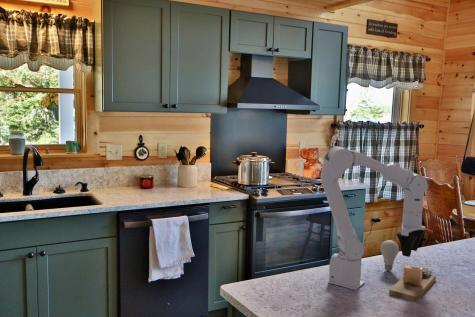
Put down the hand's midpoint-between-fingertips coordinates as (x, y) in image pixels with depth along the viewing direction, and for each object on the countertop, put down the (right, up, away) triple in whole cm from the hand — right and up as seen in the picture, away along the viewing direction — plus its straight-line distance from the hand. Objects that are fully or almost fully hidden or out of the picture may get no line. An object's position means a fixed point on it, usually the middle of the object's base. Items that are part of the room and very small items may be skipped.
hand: (409, 253), depth 143 cm
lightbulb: (-3, -9, +13) cm, 16 cm away
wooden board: (+1, -11, -1) cm, 11 cm away
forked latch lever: (+4, -8, +3) cm, 10 cm away
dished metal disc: (+6, -8, +6) cm, 12 cm away
